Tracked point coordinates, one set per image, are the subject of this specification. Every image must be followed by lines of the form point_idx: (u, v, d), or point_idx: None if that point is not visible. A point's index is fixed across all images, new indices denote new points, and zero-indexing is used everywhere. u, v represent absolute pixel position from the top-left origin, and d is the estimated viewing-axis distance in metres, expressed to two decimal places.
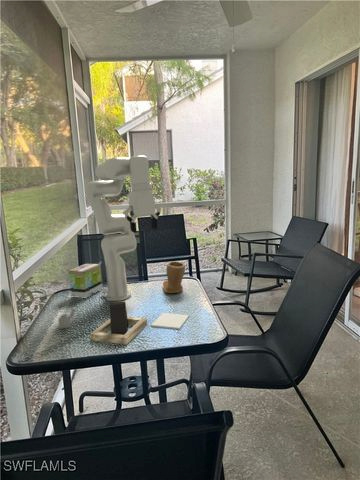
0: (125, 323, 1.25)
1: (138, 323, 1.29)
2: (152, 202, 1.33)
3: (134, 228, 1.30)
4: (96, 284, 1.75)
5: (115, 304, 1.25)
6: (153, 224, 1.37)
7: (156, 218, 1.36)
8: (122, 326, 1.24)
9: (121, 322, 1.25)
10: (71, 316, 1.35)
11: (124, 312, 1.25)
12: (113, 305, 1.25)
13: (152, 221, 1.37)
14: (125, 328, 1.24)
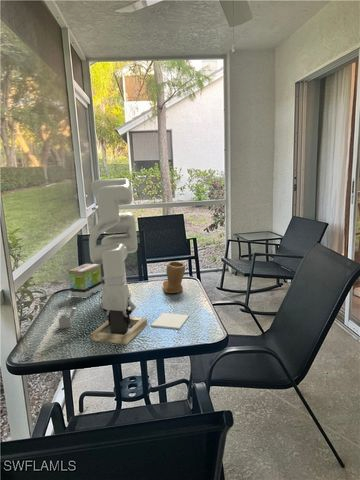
0: (125, 323, 1.25)
1: (138, 323, 1.29)
2: None
3: None
4: (96, 284, 1.75)
5: None
6: None
7: None
8: (122, 326, 1.24)
9: (121, 322, 1.25)
10: (71, 316, 1.35)
11: None
12: None
13: None
14: (125, 328, 1.24)
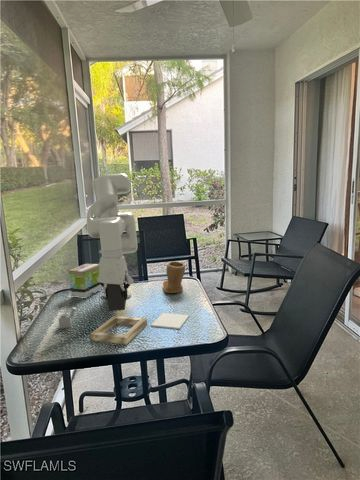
0: (122, 297, 1.23)
1: (138, 323, 1.29)
2: None
3: None
4: (96, 284, 1.75)
5: None
6: None
7: None
8: (119, 300, 1.23)
9: (118, 296, 1.23)
10: (71, 316, 1.35)
11: None
12: None
13: None
14: (122, 302, 1.23)
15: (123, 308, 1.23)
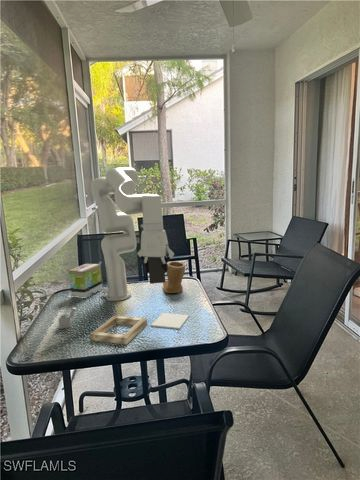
0: (163, 270, 1.27)
1: (138, 323, 1.29)
2: None
3: None
4: (96, 284, 1.75)
5: None
6: None
7: None
8: (160, 273, 1.26)
9: (159, 269, 1.26)
10: (71, 316, 1.35)
11: None
12: None
13: None
14: (163, 274, 1.26)
15: (164, 280, 1.26)
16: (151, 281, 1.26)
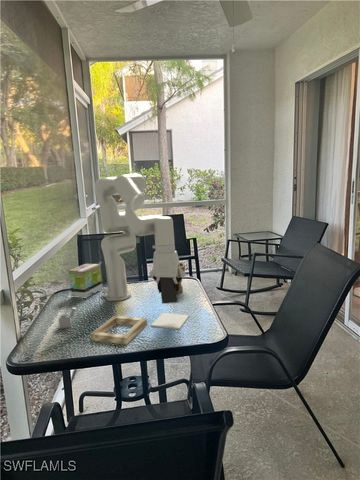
0: (175, 290, 1.29)
1: (138, 323, 1.29)
2: None
3: None
4: (96, 284, 1.75)
5: None
6: None
7: None
8: (172, 293, 1.29)
9: (171, 289, 1.29)
10: (71, 316, 1.35)
11: None
12: None
13: (160, 285, 1.32)
14: (175, 294, 1.29)
15: (176, 300, 1.29)
16: (164, 301, 1.28)
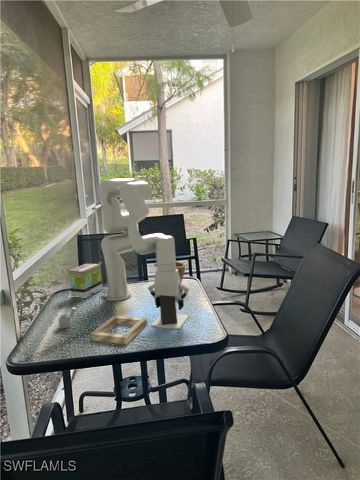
0: (175, 311, 1.31)
1: (138, 323, 1.29)
2: None
3: None
4: (96, 284, 1.75)
5: None
6: (159, 302, 1.35)
7: None
8: (172, 314, 1.31)
9: (171, 310, 1.31)
10: (71, 316, 1.35)
11: (173, 300, 1.32)
12: None
13: (158, 300, 1.34)
14: (175, 315, 1.31)
15: (176, 321, 1.31)
16: (163, 322, 1.30)
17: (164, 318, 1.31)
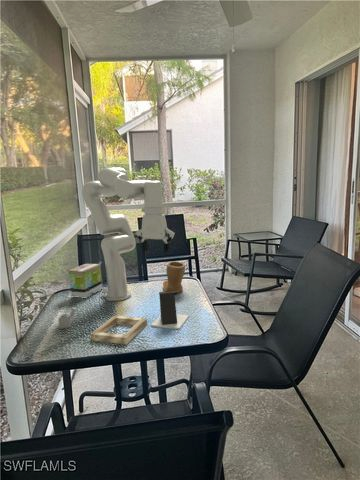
0: (175, 311, 1.31)
1: (138, 323, 1.29)
2: None
3: None
4: (96, 284, 1.75)
5: (165, 293, 1.32)
6: (146, 246, 1.41)
7: None
8: (172, 314, 1.31)
9: (171, 310, 1.31)
10: (71, 316, 1.35)
11: (173, 300, 1.32)
12: (163, 294, 1.32)
13: (145, 244, 1.40)
14: (175, 315, 1.31)
15: (176, 321, 1.31)
16: (163, 322, 1.30)
17: (164, 318, 1.31)
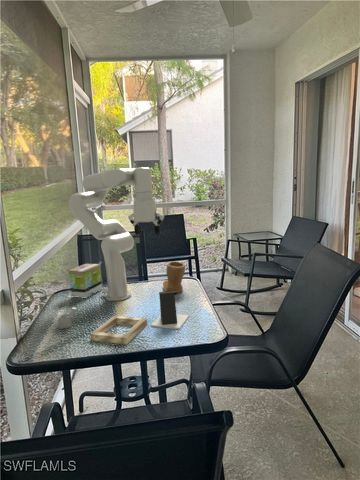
0: (175, 311, 1.31)
1: (138, 323, 1.29)
2: None
3: None
4: (96, 284, 1.75)
5: (165, 293, 1.32)
6: (138, 230, 1.50)
7: None
8: (172, 314, 1.31)
9: (171, 310, 1.31)
10: (71, 316, 1.35)
11: (173, 300, 1.32)
12: (163, 294, 1.32)
13: (137, 227, 1.49)
14: (175, 315, 1.31)
15: (176, 321, 1.31)
16: (163, 322, 1.30)
17: (164, 318, 1.31)
